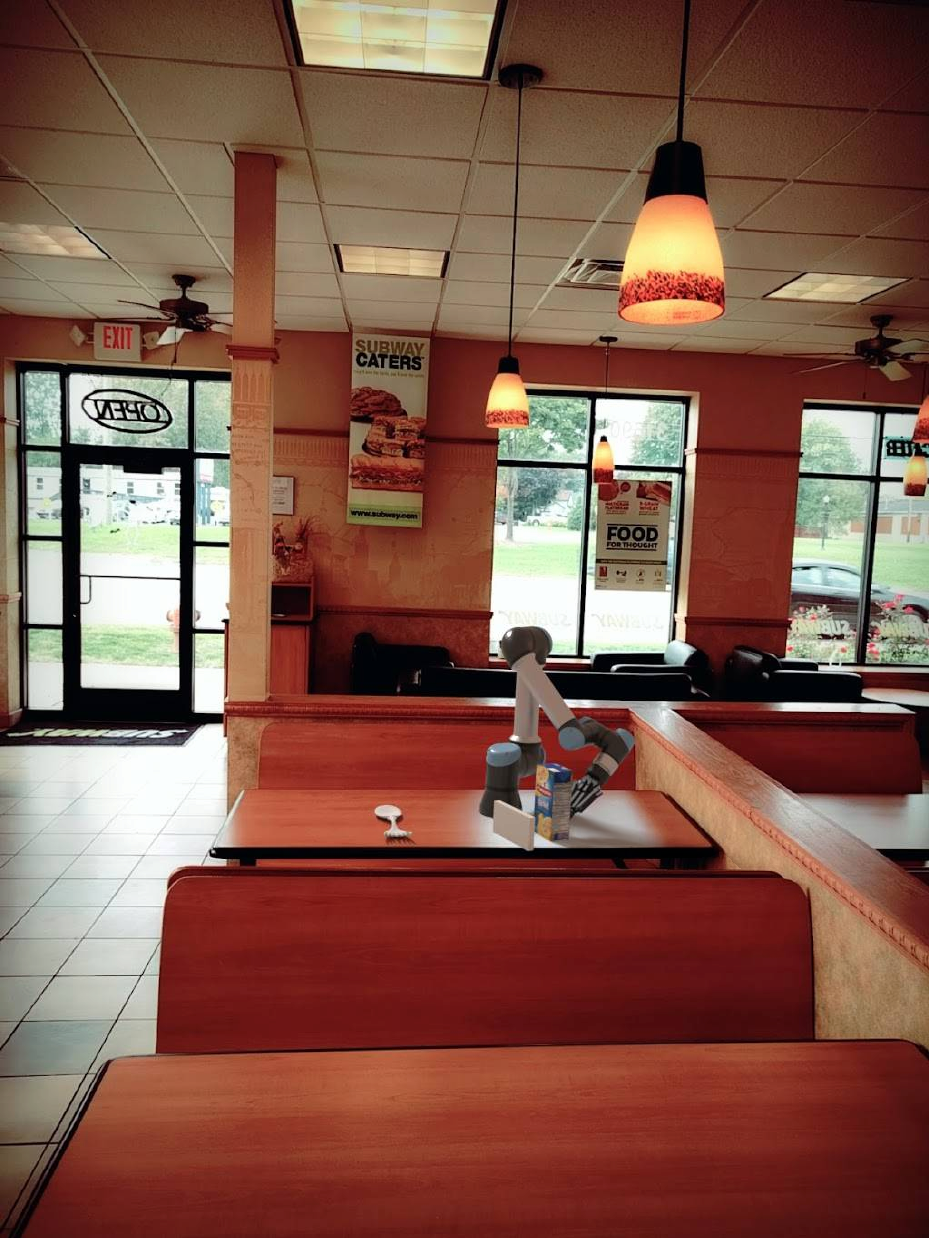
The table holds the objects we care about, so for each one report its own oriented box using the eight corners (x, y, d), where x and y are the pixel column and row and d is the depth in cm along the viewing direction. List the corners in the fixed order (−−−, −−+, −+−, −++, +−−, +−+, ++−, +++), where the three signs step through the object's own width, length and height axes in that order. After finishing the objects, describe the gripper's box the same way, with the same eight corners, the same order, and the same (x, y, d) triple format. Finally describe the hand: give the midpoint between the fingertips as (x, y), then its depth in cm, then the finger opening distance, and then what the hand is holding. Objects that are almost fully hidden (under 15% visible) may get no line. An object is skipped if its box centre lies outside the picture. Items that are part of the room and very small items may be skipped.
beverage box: (550, 841, 262) (554, 772, 261) (533, 830, 272) (536, 763, 271) (568, 839, 265) (573, 770, 264) (551, 828, 275) (555, 762, 274)
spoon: (383, 843, 253) (383, 832, 253) (372, 812, 284) (373, 802, 284) (412, 842, 255) (413, 831, 254) (399, 812, 286) (399, 802, 286)
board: (492, 831, 269) (494, 800, 269) (497, 830, 270) (499, 800, 270) (527, 850, 252) (529, 818, 252) (533, 849, 253) (535, 817, 253)
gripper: (620, 781, 272) (577, 838, 265) (594, 772, 283) (552, 826, 276) (608, 767, 269) (565, 824, 261) (582, 758, 280) (540, 813, 273)
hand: (558, 825), depth 269 cm, fingers closed
